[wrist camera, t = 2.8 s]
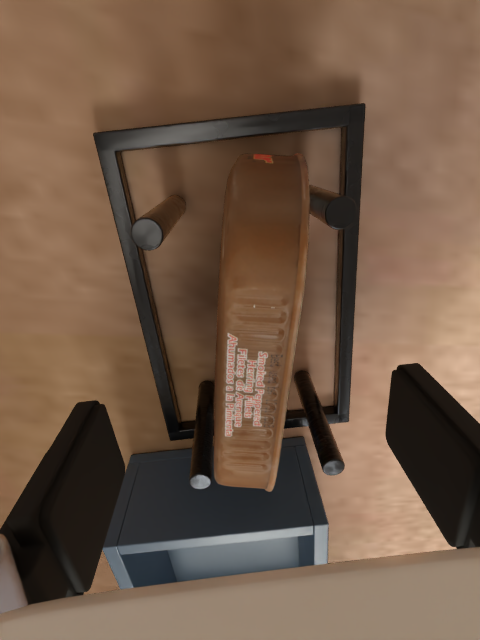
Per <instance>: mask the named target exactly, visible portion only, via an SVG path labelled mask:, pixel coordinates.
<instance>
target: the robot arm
mask: <svg viewBox="0 0 480 640" xmlns="http://www.w3.org/2000/svg"><path fill="white" fill-rule="evenodd" d="M386 440H387V443H388V445H389V447H390V448H391V450H392V452H393V453H394V455H395V457H396V458H397V460H398V462H399V463H400V465H401V467H402V468H403V470H404V471H405V473H406V475H407V476H408V478H409V480H410V481H411V483H412V485H413V486H414V488H415V490H416V491H417V493H418V495H419V496H420V498H421V500H422V501H423V503H424V504H425V506H426V508H427V509H428V511H429V513H430V514H431V516H432V518H433V519H434V521H435V523H436V524H437V526H438V528H439V529H440V531H441V533H442V534H443V536H444V537H445V539H446V541H447V542H448V544H449V545H450V546H452V547H456V548H457V549H453V550H443V551H433V552H423V553H414V554H406V555H397V556H388V557H380V558H371V559H363V560H354V561H345V562H337V563H328V564H320V565H312V566H304V567H295V568H287V569H279V570H271V571H263V572H254V573H246V574H238V575H230V576H222V577H214V578H206V579H198V580H191V581H183V582H175V583H167V584H159V585H152V586H144V587H136V588H128V589H121V590H114V591H107V592H101V593H94V594H87V595H83V593H84V592H87V591H88V590H89V589H90V587H91V585H92V582H93V579H94V575H95V572H96V569H97V565H98V562H99V559H100V555H101V552H102V549H103V546H104V542H105V539H106V536H107V532H108V529H109V526H110V522H111V519H112V516H113V513H114V509H115V506H116V503H117V499H118V496H119V493H120V489H121V486H122V483H123V479H124V476H125V464H124V461H123V458H122V455H121V452H120V449H119V446H118V443H117V440H116V437H115V434H114V431H113V428H112V425H111V422H110V419H109V416H108V413H107V410H106V407H105V405H104V404H100V403H99V402H98V401H96V400H95V401H86V402H79V403H77V404H76V405H75V407H74V409H73V410H72V412H71V414H70V415H69V417H68V419H67V420H66V422H65V424H64V425H63V427H62V429H61V431H60V432H59V434H58V436H57V437H56V439H55V441H54V442H53V444H52V446H51V447H50V449H49V450H48V451H47V453H46V454H45V456H44V457H43V459H42V461H41V462H40V464H39V466H38V467H37V469H36V471H35V472H34V474H33V476H32V477H31V479H30V481H29V482H28V484H27V486H26V487H25V489H24V491H23V492H22V494H21V496H20V497H19V499H18V501H17V502H16V504H15V506H14V507H13V509H12V511H11V512H10V514H9V516H8V517H7V519H6V521H5V522H4V524H3V526H2V527H1V529H0V640H480V424H479V423H478V422H477V421H476V420H475V419H474V418H473V417H472V416H471V415H470V414H469V413H468V412H467V411H466V410H465V409H464V408H463V407H462V406H461V405H460V404H459V403H458V402H457V401H456V400H455V399H454V398H453V397H452V396H451V395H450V394H449V393H448V392H447V391H446V390H445V389H444V388H443V387H442V386H441V385H440V384H439V383H438V382H437V381H436V380H435V379H434V378H433V377H432V376H431V375H430V374H429V373H428V372H427V371H426V370H425V369H424V368H423V367H422V366H421V365H420V364H418V363H413V364H404V365H399V366H398V367H397V370H394V371H393V372H392V377H391V386H390V396H389V405H388V415H387V424H386Z"/></svg>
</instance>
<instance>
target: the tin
mask: <svg viewBox="0 0 480 640" xmlns="http://www.w3.org/2000/svg"><path fill="white" fill-rule="evenodd" d="M309 204H310V197H309V179H308V169H307V165H306V161H305V158H304V156H303V155H302V154H299V153H298V154H295V155H293V156H277V155H263V154H242V155H240V156H239V157H238V159H237V161H236V163H235V164H234V166H233V167H232V169H231V171H230V174H229V177H228V181H227V187H226V193H225V202H224V212H223V222H222V238H221V252H220V270H219V288H218V312H217V341H216V365H215V400H214V478H215V480H216V482H217V483H218V484H221V485H224V486H231V487H245V488H260V489H265V490H266V491H268V492H270V491H272V490H273V488H274V485H275V482H276V478H277V472H278V466H279V458H280V452H281V445H282V437H283V432H284V425H285V417H286V411H287V404H288V396H289V390H290V383H291V377H292V369H293V362H294V356H295V350H296V342H297V335H298V329H299V322H300V317H301V309H302V303H303V296H304V288H305V279H306V268H307V253H308V244H309Z"/></svg>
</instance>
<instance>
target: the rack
mask: <svg viewBox="0 0 480 640" xmlns="http://www.w3.org/2000/svg"><path fill="white" fill-rule="evenodd" d="M364 122H365V103H361V104H352V105H343V106H334V107H325V108H315V109H306V110H297V111H288V112H279V113H270V114H261V115H252V116H243V117H233V118H224V119H215V120H206V121H197V122H188V123H179V124H170V125H161V126H151V127H142V128H133V129H124V130H115V131H106V132H97V133H93V136H94V140H95V144H96V148H97V152H98V156H99V160H100V164H101V168H102V172H103V176H104V180H105V184H106V188H107V192H108V196H109V200H110V204H111V208H112V212H113V216H114V220H115V224H116V228H117V231H118V235H119V239H120V243H121V247H122V251H123V255H124V259H125V263H126V267H127V271H128V275H129V279H130V283H131V287H132V291H133V295H134V299H135V303H136V307H137V311H138V315H139V319H140V323H141V327H142V331H143V335H144V339H145V343H146V347H147V351H148V355H149V359H150V363H151V367H152V371H153V375H154V379H155V383H156V387H157V391H158V395H159V398H160V402H161V406H162V410H163V414H164V418H165V422H166V426H167V430H168V434H169V438H170V441H172V440H182V439H191V438H194V439H193V448H192V457H191V467H190V476H189V483H190V485H191V486H192V487H193V488H195V489H205V488H207V487H209V486H210V484H211V478H212V452H213V436H214V400H215V385H214V384H213V383H212V382H210V381H204V382H202V383H201V384H200V386H199V393H198V402H197V411H196V421H191V422H182V423H181V420H180V416H179V411H178V407H177V403H176V398H175V394H174V389H173V385H172V380H171V376H170V372H169V367H168V363H167V358H166V354H165V349H164V345H163V341H162V336H161V332H160V327H159V323H158V318H157V314H156V310H155V305H154V301H153V296H152V292H151V287H150V283H149V279H148V274H147V270H146V265H145V261H144V256H143V252H142V249H144V250H154V249H156V248H158V247H159V246H160V245H161V243H162V242H163V241H164V239H165V238H166V237H167V235H168V234H169V233H170V231H171V230H172V228H173V227H174V226H175V224H176V223H177V222H178V220H179V219H180V218H181V216H182V215H183V214H184V212H185V210H186V203H185V201H184V199H183V198H182V197H180V196H177V195H173V196H170V197H169V198H167V199H166V200H164V201H163V202H162V203H160V204H159V205H157V206H156V207H155V208H153V209H152V210H150V211H149V212H147V213H146V214H145V215H143V216H142V217H140V218H139V219H138V220H136V221H135V217H134V212H133V208H132V203H131V199H130V194H129V190H128V186H127V181H126V177H125V172H124V168H123V163H122V159H121V155H120V152H123V151H132V150H141V149H150V148H159V147H169V146H178V145H187V144H196V143H205V142H214V141H223V140H232V139H242V138H251V137H260V136H269V135H278V134H287V133H296V132H306V131H315V130H324V129H333V128H342V141H341V177H340V194H337V193H334V192H331V191H328V190H324V189H321V188H318V187H315V186H312V185H309V197H310V204H309V214H311V215H312V216H314V217H316V218H317V219H319V220H320V221H322V222H323V223H325V224H326V225H328V226H330V227H331V228H333V229H336V230H339V250H338V286H337V322H336V358H335V394H334V406H332V407H323V408H322V406H321V403H320V401H319V398H318V396H317V393H316V391H315V388H314V386H313V383H312V381H311V378H310V375H309V374H308V373H307V372H306V371H299V372H297V373H296V374H295V375H294V381H295V384H296V387H297V391H298V394H299V397H300V400H301V403H302V406H303V410H295V411H286V417H285V425H284V429H285V428H295V427H304V426H309V429H310V432H311V435H312V438H313V441H314V444H315V447H316V451H317V454H318V457H319V460H320V463H321V466H322V470H323V472H324V473H325V474H327V475H337V474H339V473H341V472H342V471H343V470H344V466H345V465H344V462H343V459H342V457H341V454H340V452H339V449H338V447H337V444H336V441H335V439H334V436H333V434H332V431H331V429H330V426H329V424H333V423H342V422H349V407H350V387H351V368H352V349H353V330H354V311H355V292H356V273H357V254H358V235H359V216H360V197H361V178H362V159H363V140H364Z"/></svg>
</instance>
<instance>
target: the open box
mask: <svg viewBox="0 0 480 640" xmlns="http://www.w3.org/2000/svg"><path fill="white" fill-rule="evenodd" d="M191 457H192V449H182V450H173V451H164V452H154V453H145V454H135V455H131V457H130V460H129V464H128V466H127V469H126V473H125V476H124V479H123V483H122V486H121V489H120V493H119V496H118V499H117V503H116V506H115V509H114V513H113V516H112V519H111V522H110V526H109V529H108V532H107V536H106V539H105V542H104V546H103V551H104V554H105V556H106V558H107V560H108V563H109V565H110V567H111V569H112V571H113V574H114V576H115V578H116V580H117V583H118V585H119V587H120V589H128V588H136V587H144V586H152V585H159V584H167V583H175V582H183V581H191V580H198V579H206V578H214V577H222V576H230V575H238V574H246V573H254V572H263V571H271V570H279V569H287V568H295V567H304V566H312V565H320V564H328V525H329V524H328V520H327V517H326V513H325V510H324V506H323V503H322V499H321V496H320V492H319V489H318V485H317V482H316V478H315V475H314V471H313V468H312V464H311V461H310V457H309V454H308V450H307V447H306V443H305V440H304V437H296V438H286V439H282V445H281V452H280V458H279V466H278V472H277V478H276V482H275V485H274V488H273V490H272V491H270V492H268V491H266V490H265V489H260V488H245V487H231V486H224V485H221V484H218V483H217V482H216V480H215V478H214V446H213V452H212V478H211V484H210V486H209V487H207V488H205V489H195V488H193V487H192V486H191V485H190V483H189V476H190V467H191Z"/></svg>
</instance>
